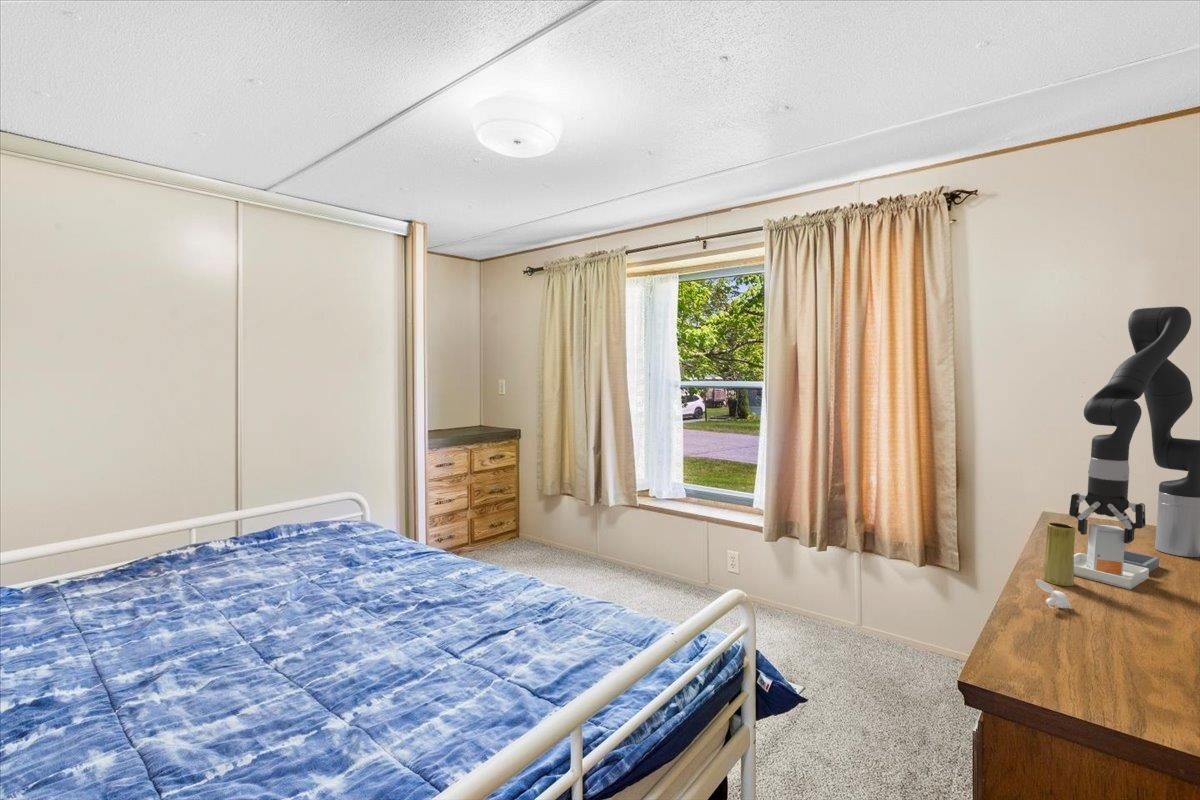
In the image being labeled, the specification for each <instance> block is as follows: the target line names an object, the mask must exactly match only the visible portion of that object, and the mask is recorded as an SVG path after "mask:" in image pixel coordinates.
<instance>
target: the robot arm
mask: <svg viewBox="0 0 1200 800" xmlns="http://www.w3.org/2000/svg"><path fill="white" fill-rule="evenodd" d="M1127 322H1128V323H1127V327H1128V333H1129V334H1128V335H1129V338H1130V342H1131V345H1132V347H1133V349H1134V354H1133V355H1131V356H1130V357H1128V358H1127V359H1125V360H1124V361H1123V362H1122V363H1120V364H1119V365H1118V366H1117V368H1116V369H1115V371H1114V373H1113V374H1112V376H1111V378H1110V379H1109V381H1108V383H1107V384H1106V385H1104V386H1103V387H1102V388H1101V389H1100V390H1099V391H1097V392H1096V393H1095V394H1094V395H1092V396H1091V397H1090V398H1089V400H1088V401H1087V402H1086V404H1085V406H1084V409H1083V416H1084V419H1085V420H1086V422H1088V423H1089V424H1092V425H1096V426H1105V427H1107V426H1108V427H1116V428H1115V430H1114V431H1113V432H1112V433H1109V434H1097V435H1095V436H1093V437H1092V439H1091V447H1090V449H1091V450H1090V461H1089V465H1088V469H1087V470H1088V471H1087V473H1088V479H1087V493H1086V495H1084V494H1083V495H1082V494H1080V493H1079V492H1076V493H1073V494H1072V495H1071V496H1070V497H1071V498H1070V504H1069V511H1068V512H1069V513H1068V514H1069V516H1070V517H1074V518H1076V519H1077V530H1078V532H1079V533H1080V535H1083V536H1085V535H1087V533H1088V518H1089V517H1090V516H1091V515H1093V514H1094V513H1095V514H1096V515H1100V516H1107V517H1111V518H1115V517H1116V518H1117V520H1118V521H1119V522H1121V524H1122V525H1123V526H1124V527H1125V528H1124V530H1125V533H1124V543H1125V544H1130V543H1132V542H1133V541H1134V540H1135V531H1136V529H1143V528H1144V527H1146V504H1144V503H1143V502H1139V503H1134V502H1133V503H1132V502H1129V500H1128V498H1129V497H1128V496H1129V481H1130V464H1129V455H1130V444H1131V441H1132V438H1133V436H1134V433H1135V430H1136V429H1137V426H1138V424H1139V422H1140V420H1141V417H1142V413H1143V412H1142V408H1141V406H1140V403H1138V402H1137V400H1138V399H1140V398H1141V397H1142V395H1143V394H1144V399H1145V400H1144V401H1145V405H1146V408H1147V412H1148V416H1149V423H1150V429H1151V444H1152V456H1153V459H1154V463H1155V464H1156V465H1157V467H1160V468H1162V469H1167V470H1174V471H1181V472H1187V475H1186V476H1185V477H1182V478H1180V479H1173V480H1172V479H1171V480H1164V481H1161V482H1160V483H1159V484H1158V497H1157V509H1156V510H1157V511H1156V512H1157V513H1156V525H1155V526H1156V527H1155V538H1154V539H1155V542H1154V549H1155V550H1156V551H1159V552H1162V553H1165V554H1167V555H1174V556H1177V557H1179V556H1180V557H1186V558H1200V439H1192V438H1181V437H1180V438H1178V437H1173V436H1172V434H1171V432H1172V428H1173V427H1174V425H1175V424H1176V422H1177V421H1178V420H1179V419H1180V418H1181V417H1182V416H1184V414H1186V412H1187V411H1188V410H1189V408H1190V407H1191V406H1192V404H1193V400H1194V397H1193V391H1192V387H1191V386H1192V385H1191V380H1190V379H1189V377H1188V375H1187V374H1186V373H1185V372H1184V371H1183V370H1182V369H1180V368H1179V367H1178V366H1177V365H1176V364H1174V363H1173V362H1172V361H1171V360H1169V359H1168V358H1169V357H1170V356H1171V355H1172V354H1173V353H1174V351H1175V350H1176V349H1177V347H1179V346H1180V344H1181V343H1182V342H1183V341H1184V339H1186V336H1187V335H1188V334H1189V332H1190V330H1191V326H1192V316H1191V313H1190V311H1189V310H1188V309H1187V308H1186V307H1184V306H1157V307H1146V308H1145V307H1143V308H1137V309H1135V310H1133V311H1132V312H1131V313H1130V315H1129V316H1128V321H1127ZM1084 501H1085V502H1086V503H1087V506H1088V508H1086V509H1085V510H1083V511H1082V512H1079V511H1080V504H1081V503H1083V502H1084ZM1128 508H1131V511H1132V512H1133V513H1135V515H1134V516H1135V517H1134V518H1135V522H1134V521H1133V520H1132V519H1131V517H1130V516H1129V514H1128V513H1127V512H1126V510H1128Z"/></svg>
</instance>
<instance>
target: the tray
mask: <svg viewBox="0 0 1200 800" xmlns="http://www.w3.org/2000/svg"><path fill="white" fill-rule="evenodd" d="M1086 564H1087V554H1086V553H1081V552H1076V553H1074V577H1075V576H1076V577H1080V578H1083V579H1088V580H1091V581H1095V582H1097V583H1099V582H1100V583H1103V584H1106V585H1111V586H1114V587H1119V588H1123V589H1125V590H1131V589H1132V590H1133V588H1135V587H1136V586H1138V585H1140V584H1141V583H1143V582H1145V581H1146V580H1148V579H1149V574H1150V572H1149V569H1148V568H1144V567H1140V566H1135V565H1131V564H1127V563H1123V574H1122V577H1121V576H1117V575H1113V574H1109V573H1105V572H1101V571H1097V570H1093V569H1089V568H1086Z"/></svg>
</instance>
